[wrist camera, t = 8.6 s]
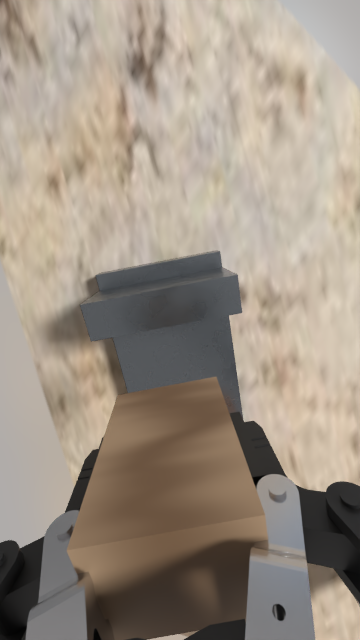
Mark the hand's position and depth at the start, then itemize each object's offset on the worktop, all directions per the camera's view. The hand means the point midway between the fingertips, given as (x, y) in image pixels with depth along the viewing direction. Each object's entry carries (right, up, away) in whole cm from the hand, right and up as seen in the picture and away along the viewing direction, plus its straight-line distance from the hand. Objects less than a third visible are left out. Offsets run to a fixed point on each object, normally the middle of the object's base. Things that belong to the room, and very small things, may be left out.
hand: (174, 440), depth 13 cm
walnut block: (0, 0, +1) cm, 1 cm away
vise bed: (0, 0, +18) cm, 18 cm away
